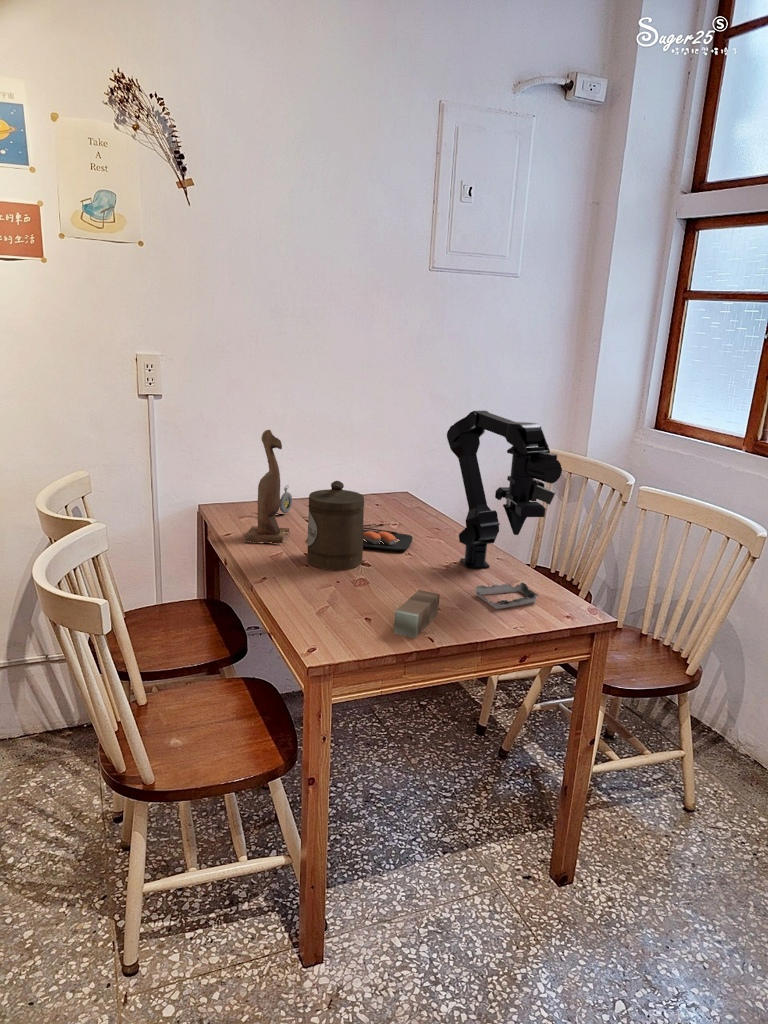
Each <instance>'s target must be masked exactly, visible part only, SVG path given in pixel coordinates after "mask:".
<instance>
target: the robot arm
mask: <svg viewBox="0 0 768 1024" xmlns="http://www.w3.org/2000/svg"><path fill="white" fill-rule="evenodd" d="M485 431H489V432H491V433H493V434H496V435H499V436H500V437H503V438H504V439H505V441H506V442H507V443H508V444H510V445H511V447H510V448H508V449H507V451H506V453H507V454H510V455H512V456H511V457H512V458H511V465H510V467H511V468H510V475H507V478H506V479H507V481H508V482H509V487H505V486H504V487H503V486H501V487H500V486H499V487H498V488H497V489H496V490H495V495H494V496H495V497H494V498H495V499H496V500H498V501H501V500H503V498H504V499H505V500H506V502H505V503H504V504H502V507H503V508H504V510H505V513H506V516H507V519H508V522H509V525H510V527H511V530H512V533H513V535H514V536H519V534H520V532H521V530H522V528H523V526H524V523H525V521H526V520H527V518H545V517H546V511H547V509H546V507H545V506H544V505H543V504H541V503H539V502H538V501H537V500H539V501H540V502H544V503H546V505H549V506H550V505H551V504H552V501H553V499H554V497H555V495H556V493H555V492H554V491H552V490H550V489H549V488H547V487H545V483H547V484H554V483H556V482H557V481H559V480H560V477H561V475H562V473H563V467H562V464H561V462H560V461H559V460H558V455H557V454H556V453H551V450H550V448H549V444H548V443H547V439H546V437H545V435H544V431H543V429H542V426H541V425H540V424H539V423H536V422H527V421H526V422H524V421H523V422H521V421H514V420H511V419H509V418H505V417H503V416H501V415H500V416H499V415H496V414H494V413H491V412H489V411H487V410H472V411H470V412H469V413H468V414H467V415H466V416H464V417H463V418H462V419H459V420H458V421H456V422H455V423H454V424H452V425H451V426H450V427H449V429H448V431H446V438H447V439H446V440H447V442H448V445H449V449H450V451H451V452H452V453H453V454H454V455H455V456H456V458H458V463H459V467H460V471H461V472H460V473H461V477H462V482H463V487H464V491H465V496H466V501H467V506H468V511H467V515H466V518H465V528H463V530H462V531H461V532H460V533H458V540H459V543H461V544H463V545H465V551H464V553H465V554H464V558H463V557H462V558H460V559H459V560H460V562H461V563H462V564H463V565H464V566H465V567H466V568H468V569H473V568H474V569H475V568H476V569H478V568H479V569H481V568H483V569H485V568H490V567H491V565H490V564H489V563H488V562H487V551H488V545H491V544H494V543H495V542H496V539H497V537H498V533H500V525H501V524H500V521H499V517H498V512H497V511H496V510H494V509H493V510H491V508H490V507H489V505H488V502H487V497H486V493H485V488H484V483H483V480H482V474H481V470H480V465H479V462H478V461H479V460H478V456H477V454H478V451H479V448H480V445H481V441H480V438H481V437H482V436H483V435H484V434H485Z"/></svg>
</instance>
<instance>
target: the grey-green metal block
mask: <svg viewBox="0 0 768 1024" xmlns="http://www.w3.org/2000/svg"><path fill="white" fill-rule="evenodd" d="M440 595H441V594H440V593H437V592H433V591H432V592H431V591H428V590H427V591H426V590H422V589H419V590H417V591H416V592H415V593H414V594H413V595H411V596H410V597H409V598H408V599H407V600H406V601H405V602H404V603H403V604H401V605H400V606H399V607H398V608H397V609H396V610H395V611H394V622H393V624H394V625H393V634H395V635H399V636H400V635H401V636H405V637H408V638H412V639H416V638H417V637H418V636H419V635H420V634H421V633H422V632H423V631H424V630H425V629H426V628H427V627H428V626H429V625H430V624H431V623H432V622H433V621H434V620H435V618H436V617H438V615H439V611H440V610H439V608H440V598H441V597H440Z"/></svg>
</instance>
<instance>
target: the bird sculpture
mask: <svg viewBox="0 0 768 1024" xmlns="http://www.w3.org/2000/svg"><path fill="white" fill-rule="evenodd" d="M260 439H261V442H262V444H263V447H264V450H265V455H266V458H267V463H268V472H266V473H265V474H264V475H263V476H262V477H261V479H260V480H259V482H258V484H257V485H258V486H257V526H255V525H252V526H251V527H250V529H248V531H247V532H246V533H245V534H244V538H243V540H244V542H245V541H247V542H246V543H248V541H249V543H251V542H264V543H265V542H272V543H277V544H278V543H282V544H283V541H284V537H285V535H286V534H287V533H286V532H289V533H291V532H290V528H289V527H280V525H279V523H278V521H277V519H276V518H277V517H276V515H275V514H276V513H277V512H278V510H279V508H280V499H281V475H280V474H281V473H280V467H279V464H278V461H277V458H276V455H275V452H274V450H273V449H279V450H282V449H283V445H282V441H281V439H279V438H278V437H276V436H275V435H274V434H273V432H272V430H271V429H266V430H264V431H263V432H262V434H261V438H260ZM283 532H285V533H283ZM250 541H251V542H250Z"/></svg>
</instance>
